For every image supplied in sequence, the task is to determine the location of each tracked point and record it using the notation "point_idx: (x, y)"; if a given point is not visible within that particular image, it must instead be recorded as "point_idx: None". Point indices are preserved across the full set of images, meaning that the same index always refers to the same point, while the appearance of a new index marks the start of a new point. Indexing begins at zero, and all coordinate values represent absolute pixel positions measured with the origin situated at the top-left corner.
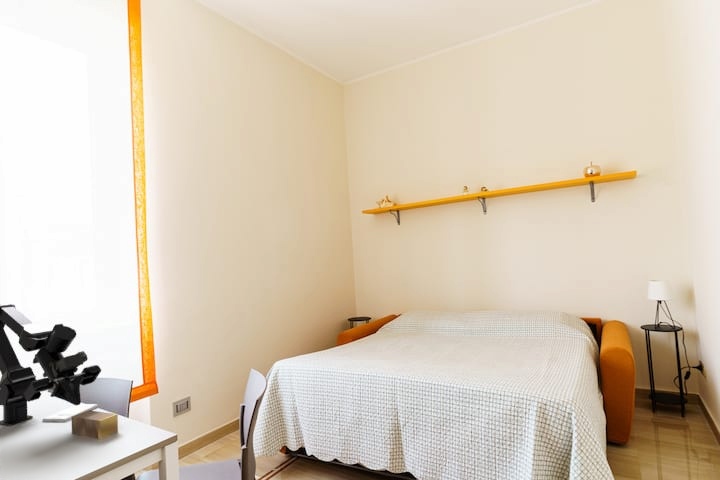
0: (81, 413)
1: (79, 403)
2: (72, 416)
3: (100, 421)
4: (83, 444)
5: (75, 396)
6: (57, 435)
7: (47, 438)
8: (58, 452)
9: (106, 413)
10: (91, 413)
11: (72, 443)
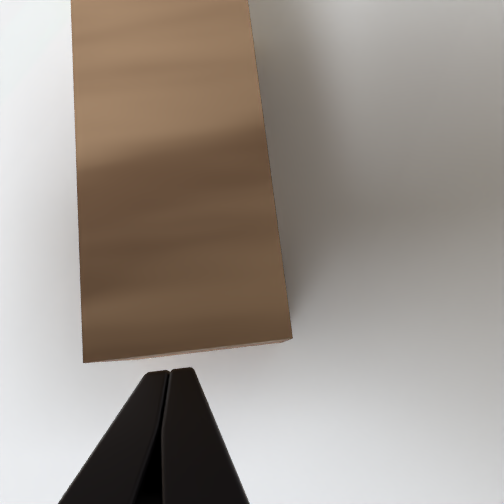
0: (185, 336)
1: (168, 372)
2: (287, 327)
3: None
4: (336, 63)
5: (176, 465)
6: (349, 437)
7: (418, 449)
8: (473, 86)
9: (89, 60)
10: (144, 215)
11: (364, 147)
